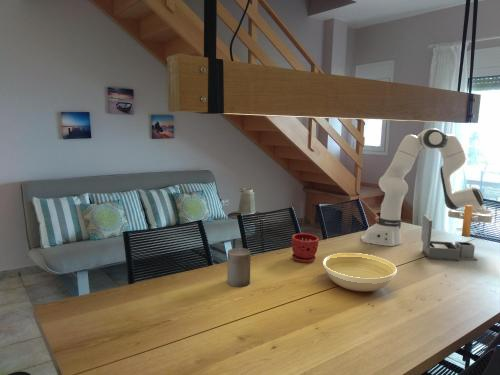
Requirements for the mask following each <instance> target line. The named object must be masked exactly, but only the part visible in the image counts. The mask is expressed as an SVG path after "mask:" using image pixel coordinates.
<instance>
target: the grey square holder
mask: <svg viewBox="0 0 500 375" xmlns="http://www.w3.org/2000/svg"><path fill="white" fill-rule="evenodd" d="M454 245H455V246H456V247H457V248H458V249H459V250H460V252H459V260H467V261H478V258H477V257H476V256H475V248H476V247H475V244H473V243H471V242H468V241H454Z"/></svg>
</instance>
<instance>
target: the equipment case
mask: <svg viewBox="0 0 500 375" xmlns="http://www.w3.org/2000/svg"><path fill="white" fill-rule="evenodd" d="M421 227H422V228H421V240H420V241H421V242H422V252H423V254H425V256H426V258H427V259H428V260H434V261H435V260H436V261H447V262H448V261H449V262H459V261H460V259H459V252H460V250H459V249H458V248H457V247H456V246H455V243H453V241H441V240H431V238H432V227H433V220H432V219H431V218H430V217H429V216H428V215H427V214H423V215H422V225H421Z"/></svg>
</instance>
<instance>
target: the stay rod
mask: <svg viewBox="0 0 500 375" xmlns="http://www.w3.org/2000/svg"><path fill="white" fill-rule="evenodd" d="M472 209H473V206H471V205H465V207H464V208H463V210H464V218H463V219H462V228H461V237H466V238H469V237H470V236H471V235H470V234H471V226H472V222H471V217H472Z"/></svg>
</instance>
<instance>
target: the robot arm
mask: <svg viewBox="0 0 500 375" xmlns="http://www.w3.org/2000/svg"><path fill="white" fill-rule="evenodd" d="M422 149H430V150H431V149H437V150H438V151H439V152H440V155H441V158H442V166H441V167H440V169H439V171H440V172H439V173H440V178H441V179H440V180H441V184H442V189H443V191H442V192H443V196H444V203H445V206H446V208H448V209H449V210H448V213H447V215H448V217H449V218H454V219H461V220H463V218H464V209H461V208H465V205H471V206H473V209H472V217H471V223H488V224H491V223H492V221H493V213H492V210H489V209H486V208H485V207H484V197H483V196H484V195H483V194H482V192H481V190H480V189H478V188H476V187H474V186H472V187H466V188H463V189H459V190H457V191H456V190H455V191H453V190H452V183H451V175H453V173H455V172H456V171H458V170H459V169H460V168H462V166H463V165H464V164H465V163H466V159H467V158H466V155H465V154H466V153H465V151H464V148H463V146H462V144H461V142H460V141H459V139H458V138H457V136H456V135H455V134H452V133H450V134H445V133H444V132H443V131H441V130H440V129H438V128H426V129H422V130H421V131H419V132H418V133H417V134H416V135H415V134H407V135H406V136H404V137H403V139H402V141H401V142H400V144H399V146H398V147H397V150H396V152H395V154H394V156H393V158H392V160H391V163H390V165H389V167H388V168H387V170H386V171H385V172H384V174H383V175H382V176H381V177H380V178H379V179H378V186H379V188H380V190H381V191H382V192H384V196H383V200H382V202H381V205H380V214H379V217H378V216H375V217H374V219H375V221H376V223H375V224H372V226H370V227H368V228H367V229H366V230H365V233H364V235H362V236H361V238H360V239H362V240H361V241H362V242H363V243H365V242H366V243H365V244H370V243H372V244H371V245H380V246H386V247H394V246H399V245H401V244H402V243H403V242H402V237H401V227H402V218H401V214H402V205H403V202H404V198H405V196H406V195H407V193H408V192H409V185H408V183H407V181H406V180H405V177H406V175H407V174H408V173H410V171H411V170H412V168H413V166H414V163H415V162H416V159H417V157H418V154H419V152H420V151H421V150H422Z"/></svg>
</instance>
